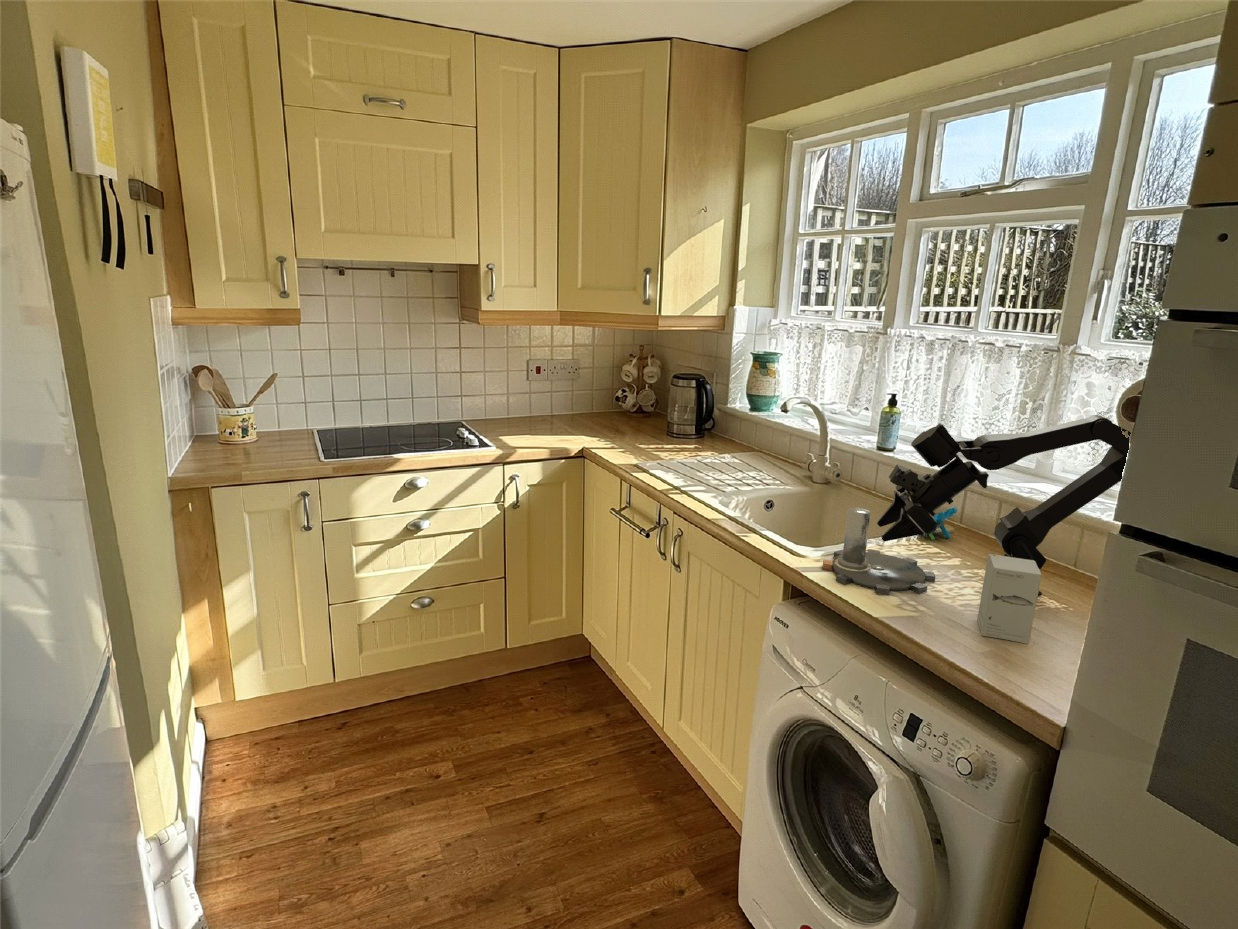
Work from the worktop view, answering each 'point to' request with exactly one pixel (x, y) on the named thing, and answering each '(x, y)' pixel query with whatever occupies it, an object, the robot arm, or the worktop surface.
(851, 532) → the pin
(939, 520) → the cyan green stick cluster
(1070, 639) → the worktop surface
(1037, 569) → the supplement box
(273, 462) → the worktop surface
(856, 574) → the sprocket plate
